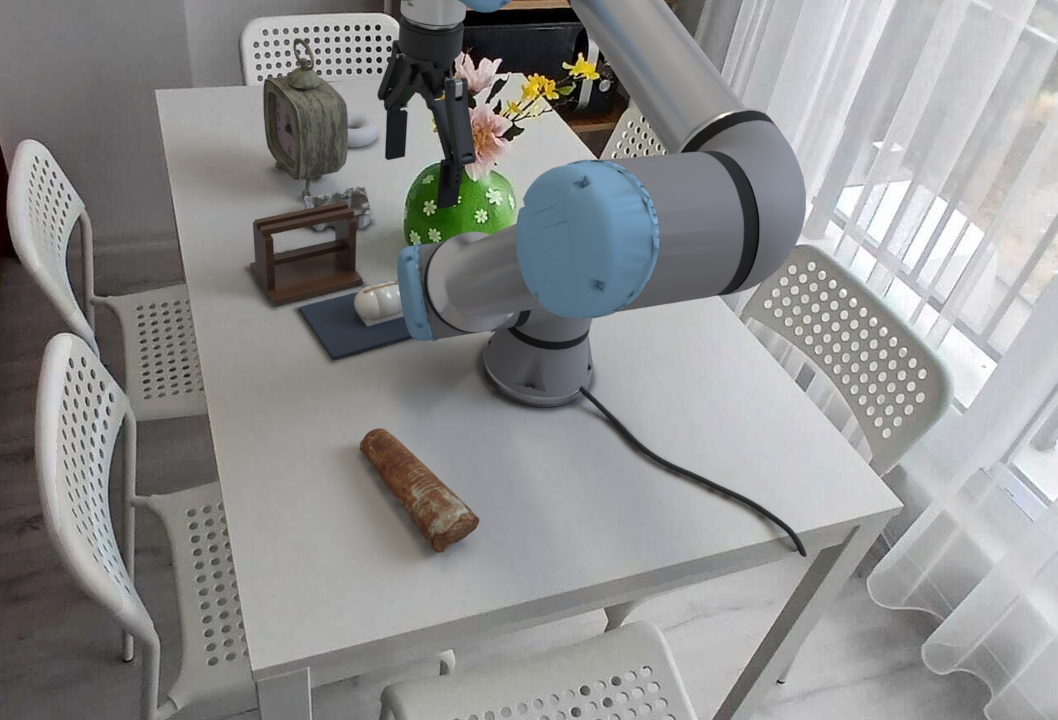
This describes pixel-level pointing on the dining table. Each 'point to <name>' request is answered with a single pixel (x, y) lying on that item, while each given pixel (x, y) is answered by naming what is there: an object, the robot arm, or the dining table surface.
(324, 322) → the mat
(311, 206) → the egg carton
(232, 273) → the dining table surface
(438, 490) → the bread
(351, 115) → the donut
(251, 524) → the dining table surface
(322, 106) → the tabletop clock
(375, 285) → the white dome-topped canister
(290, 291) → the rack
